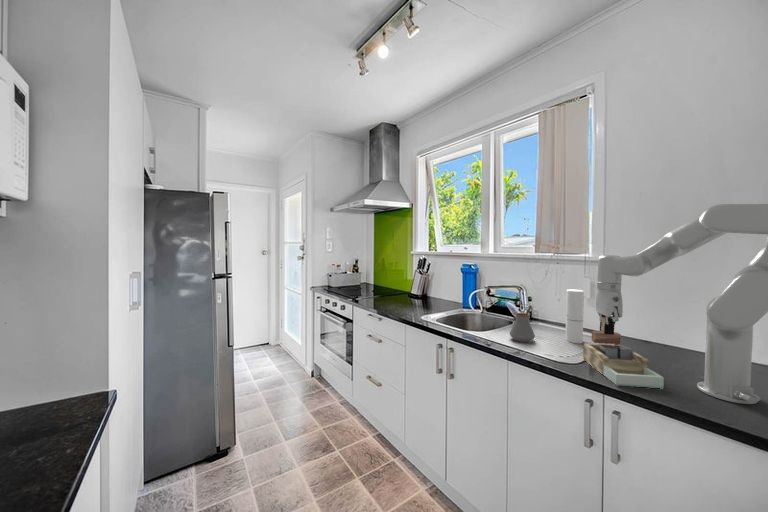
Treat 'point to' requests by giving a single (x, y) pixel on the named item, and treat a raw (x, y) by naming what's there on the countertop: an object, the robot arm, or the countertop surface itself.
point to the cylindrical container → (574, 315)
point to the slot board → (613, 361)
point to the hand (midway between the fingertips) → (606, 332)
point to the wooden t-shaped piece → (605, 335)
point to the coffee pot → (522, 328)
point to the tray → (635, 378)
